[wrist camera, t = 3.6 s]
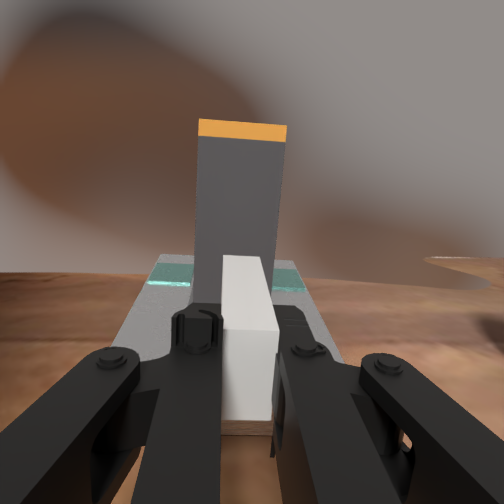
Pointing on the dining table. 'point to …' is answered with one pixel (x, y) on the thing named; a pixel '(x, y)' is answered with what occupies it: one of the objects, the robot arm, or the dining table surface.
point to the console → (181, 295)
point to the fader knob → (236, 199)
